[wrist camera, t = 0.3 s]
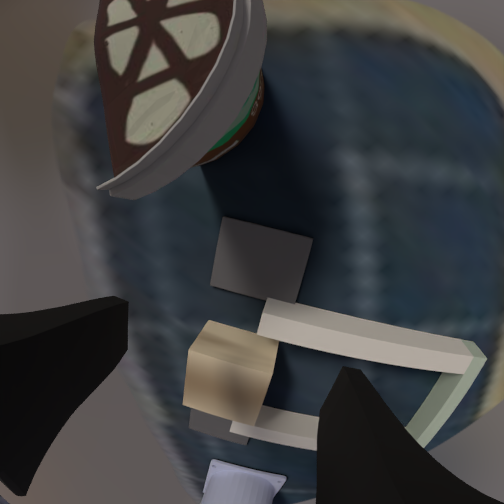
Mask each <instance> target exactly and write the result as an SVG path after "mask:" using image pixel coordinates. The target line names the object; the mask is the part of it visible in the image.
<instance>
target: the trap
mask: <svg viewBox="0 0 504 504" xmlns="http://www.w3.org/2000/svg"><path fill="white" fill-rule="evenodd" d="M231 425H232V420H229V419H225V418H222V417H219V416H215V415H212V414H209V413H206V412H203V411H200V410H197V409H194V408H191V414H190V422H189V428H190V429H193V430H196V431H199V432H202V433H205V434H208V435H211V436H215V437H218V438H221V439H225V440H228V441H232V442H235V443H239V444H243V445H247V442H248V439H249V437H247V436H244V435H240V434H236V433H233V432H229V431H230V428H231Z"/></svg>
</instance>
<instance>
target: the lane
mask: <svg viewBox="0 0 504 504" xmlns="http://www.w3.org/2000/svg"><path fill="white" fill-rule="evenodd" d="M257 335H260V336H263V337H267V338H271V339H275V340H279V341H283V342H287V343H291V344H295V345H299V346H303V347H307V348H312V349H316V350H320V351H325V352H329V353H334V354H339V355H344V356H348V357H353V358H358V359H364V360H369V361H374V362H380V363H386V364H391V365H398V366H404V367H410V368H417V369H424V370H431V371H439V372H442V374H441V376H440V377H439V379H438V380H437V382H436V384H435V385H434V387H433V388H432V390H431V392H430V393H429V395H428V396H427V398H426V399H425V401H424V402H423V404H422V405H421V407H420V408H419V409H418V411H417V412H416V414H415V415H414V416H413V418H412V419H411V421H410V422H409V423H408V425H407V426H406V427H405V429H406V430H407V431H408V432H409V433H410V434H411V436H412V437H413V438H414V439H415V440H416V441H417V442H418V443H419V444H420V445H421V446H422V447H423V448H424V447H425V446H426V445H427V444H428V442H429V441H430V440H431V439H432V438H433V437H434V435H435V434H436V433H437V432H438V430H439V429H440V428H441V427H442V425H443V424H444V423H445V422H446V420H447V419H448V418H449V416H450V415H451V414H452V412H453V411H454V410H455V408H456V407H457V405H458V404H459V403H460V401H461V400H462V398H463V397H464V395H465V394H466V392H467V391H468V389H469V388H470V386H471V385H472V383H473V381H474V380H475V378H476V377H477V375H478V373H479V372H480V370H481V368H482V367H483V365H484V363H485V361H486V360H487V358H486V357H485V355H484V354H483V353H482V352H481V350H480V349H479V348H478V347H477V345H476V344H475V343H474V342H472V341H467V340H462V339H456V338H451V337H446V336H441V335H436V334H431V333H426V332H421V331H416V330H411V329H406V328H402V327H397V326H392V325H388V324H383V323H379V322H374V321H370V320H366V319H361V318H357V317H353V316H348V315H344V314H340V313H336V312H332V311H327V310H323V309H319V308H315V307H311V306H307V305H303V304H299V303H295V304H291V303H288V302H284V301H280V300H276V299H272V298H267V301H266V304H265V307H264V310H263V313H262V316H261V320H260V324H259V328H258V332H257ZM318 422H319V417H315V416H310V415H305V414H300V413H295V412H290V411H285V410H281V409H277V408H272V407H268V406H264V405H262V406H261V409H260V412H259V414H258V417H257V420H256V422H255V425H254V426H251V425H247V424H243V423H239V422H236V421H232V425H231V428H230V431H229V432H233V433H236V434H240V435H244V436H247V437H251V438H255V439H260V440H264V441H268V442H273V443H277V444H282V445H287V446H292V447H298V448H304V449H310V450H316V451H317V431H318Z"/></svg>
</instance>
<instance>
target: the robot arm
mask: <svg viewBox="0 0 504 504" xmlns="http://www.w3.org/2000/svg"><path fill="white" fill-rule="evenodd" d="M128 303H129V302H128V301H125V300H123V299H120V298H118V297H116V296H110V297H103V298H98V299H93V300H89V301H85V302H80V303H76V304H71V305H67V306H62V307H57V308H51V309H46V310H40V311H34V312H27V313H18V314H0V481H1V482H2V483H3V484H4V485H6V486H7V487H8V488H9V489H10V490H11V491H12V492H13V493H14V494H15V495H17V496H26V494H27V491H28V489H29V486H30V484H31V482H32V479H33V477H34V475H35V473H36V471H37V469H38V467H39V465H40V463H41V461H42V459H43V457H44V456H45V454H46V452H47V450H48V449H49V447H50V446H51V444H52V442H53V441H54V439H55V438H56V436H57V434H58V433H59V432H60V430H61V429H62V427H63V426H64V425H65V423H66V422H67V420H68V419H69V417H70V416H71V415H72V414H73V413H74V411H75V410H76V409H77V408H78V407H79V406H80V405H81V404H82V403H83V402H84V401H85V399H86V398H87V397H88V396H89V395H90V394H91V393H92V392H93V391H94V390H95V389H96V388H97V387H98V386H99V385H100V384H101V383H102V381H104V379H105V378H106V377H107V376H108V375H109V374H110V373H111V372H112V371H113V370H114V369H115V367H116V366H117V364H118V363H119V362H120V360H121V359H122V357H123V356H124V354H125V353H126V351H127V350H128ZM286 478H287V477H286V476H283V475H278V474H273V473H268V472H263V471H258V470H254V469H250V468H246V467H241V466H238V465H234V464H230V463H226V462H223V461H220V460H216V459H213V460H211V463H210V467H209V471H208V474H207V478H206V482H205V486H204V490H203V493H204V496H203V499H202V501H201V504H272V501H273V498H274V496H275V495H276V494H277V492H278V491H279V490H280V488H281V487H282V486H283V484H284V483H285V481H286ZM0 504H9V503H8V502H7V501H6V500H5V499H4V498H3V497H2V496H1V495H0ZM316 504H504V503H503V502H500V501H498V500H496V499H493V498H491V497H489V496H487V495H485V494H483V493H481V492H480V491H478V490H476V489H474V488H473V487H471V486H469V485H468V484H466V483H465V482H463V481H462V480H460V479H459V478H458V477H456V476H455V475H454V474H452V473H451V472H450V471H448V470H447V469H446V468H445V467H443V466H442V465H441V464H440V463H439V462H437V461H436V460H435V459H434V458H433V457H432V456H431V455H430V454H429V453H428V452H427V451H426V450H425V449H424V448H423V447H422V446H421V445H420V444H419V443H418V442H417V441H416V440H415V439H414V438H413V437H412V436H411V434H410V433H409V432H408V431H407V430H406V429H405V427H404V426H403V425H402V424H401V423H400V421H399V420H398V419H397V418H396V416H395V415H394V414H393V413H392V411H391V410H390V409H389V407H388V406H387V405H386V403H385V402H384V401H383V399H382V398H381V397H380V395H379V394H378V392H377V391H376V390H375V388H374V387H373V385H372V384H371V383H370V381H369V380H368V379H367V377H366V376H365V375H364V374H363V372H362V371H361V370H360V369H354V368H349V367H345V366H343V367H342V369H341V371H340V373H339V375H338V377H337V379H336V381H335V383H334V385H333V387H332V389H331V391H330V392H329V394H328V396H327V398H326V400H325V402H324V404H323V406H322V407H321V409H320V415H319V422H318V431H317V494H316Z"/></svg>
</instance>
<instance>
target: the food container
mask: <svg viewBox="0 0 504 504" xmlns="http://www.w3.org/2000/svg"><path fill="white" fill-rule="evenodd" d="M266 43H267V19H266V14H265V9H264V5H263V1H262V0H100V4H99V9H98V14H97V20H96V26H95V36H94V49H95V58H96V65H97V71H98V76H99V82H100V87H101V93H102V98H103V104H104V112H105V120H106V128H107V135H108V141H109V148H110V154H111V161H112V167H113V172H114V178H113V179H111V180H109V181H107V182H105V183H103V184H102V185H100V186H98V187H96V188H97V190H105V189H109V190H110V196H114V197H120V198H125V199H131V200H136V199H138V198H141V197H143V196H145V195H148V194H150V193H153V192H155V191H157V190H158V189H160V188H161V187H163V186H165V185H166V184H168V183H170V182H171V181H173V180H175V179H177V178H178V177H179V176H180V175H182V174H183V173H184V172H185V171H187V170H188V169H189V168H191V167H196V166H200V165H203V164H206V163H209V162H211V161H214V160H217V159H219V158H220V157H222V156H223V155H224V154H226V153H227V152H229V151H230V150H232V149H233V148H235V147H236V146H238V145H239V144H240V142H241V141H242V140H243V139H244V137H245V136H246V135H247V134H248V133H249V131H250V130H251V129H252V128H253V127H254V125H255V123H256V120H257V118H258V115H259V113H260V110H261V108H262V105H263V101H264V87H265V86H264V79H263V74H262V70H261V66H262V62H263V57H264V52H265V47H266Z"/></svg>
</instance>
